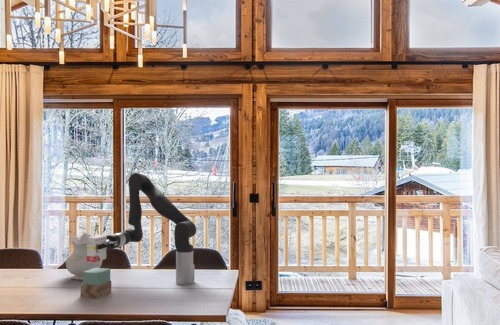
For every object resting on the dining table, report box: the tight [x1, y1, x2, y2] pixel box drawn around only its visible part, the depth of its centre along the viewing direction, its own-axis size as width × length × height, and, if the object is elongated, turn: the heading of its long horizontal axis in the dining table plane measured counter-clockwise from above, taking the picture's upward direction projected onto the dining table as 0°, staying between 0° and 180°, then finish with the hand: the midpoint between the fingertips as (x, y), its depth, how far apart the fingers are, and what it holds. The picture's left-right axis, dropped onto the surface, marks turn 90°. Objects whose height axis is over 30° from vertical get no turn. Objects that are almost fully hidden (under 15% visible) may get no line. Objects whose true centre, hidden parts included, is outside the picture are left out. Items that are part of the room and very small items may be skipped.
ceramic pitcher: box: [65, 232, 103, 281], centre depth 224 cm, size 22×20×25 cm
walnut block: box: [80, 280, 112, 300], centre depth 193 cm, size 10×10×6 cm
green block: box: [82, 267, 111, 286], centre depth 194 cm, size 9×9×6 cm
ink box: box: [87, 234, 108, 262], centre depth 194 cm, size 9×5×12 cm, turn 156°
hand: (93, 246), depth 192 cm, fingers closed on ink box, 5 cm apart
